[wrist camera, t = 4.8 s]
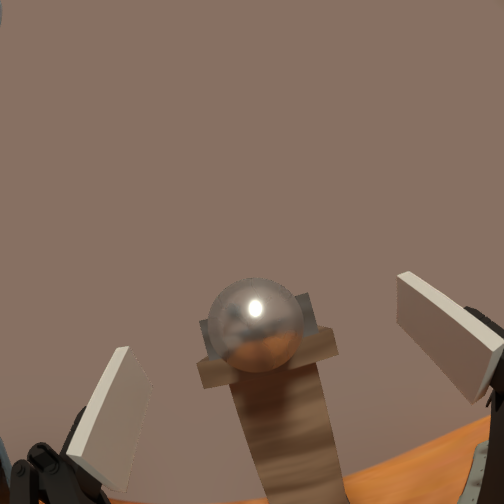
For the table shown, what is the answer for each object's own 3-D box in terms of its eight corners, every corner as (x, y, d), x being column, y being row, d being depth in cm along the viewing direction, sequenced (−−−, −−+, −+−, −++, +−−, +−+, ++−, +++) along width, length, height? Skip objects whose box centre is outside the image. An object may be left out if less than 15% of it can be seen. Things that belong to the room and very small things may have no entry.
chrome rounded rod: (310, 363, 11) (295, 270, 11) (215, 377, 11) (201, 285, 12) (282, 332, 30) (276, 297, 31) (247, 337, 30) (241, 303, 31)
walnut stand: (371, 555, 12) (321, 288, 19) (284, 577, 12) (186, 324, 19) (346, 499, 25) (298, 299, 33) (281, 516, 25) (218, 320, 33)
